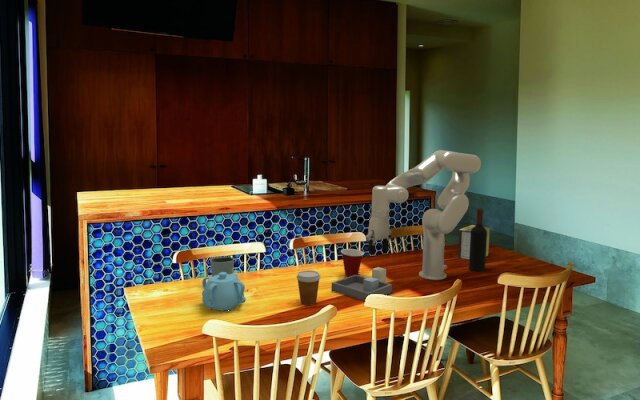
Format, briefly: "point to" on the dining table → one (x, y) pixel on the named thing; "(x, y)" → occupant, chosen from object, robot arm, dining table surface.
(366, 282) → the blue block
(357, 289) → the tray
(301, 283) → the disposable coffee cup
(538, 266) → the dining table surface
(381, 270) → the cream block
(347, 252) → the plastic cup
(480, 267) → the wine bottle
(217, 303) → the decorative pot
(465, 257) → the protein box
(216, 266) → the drinking glass
